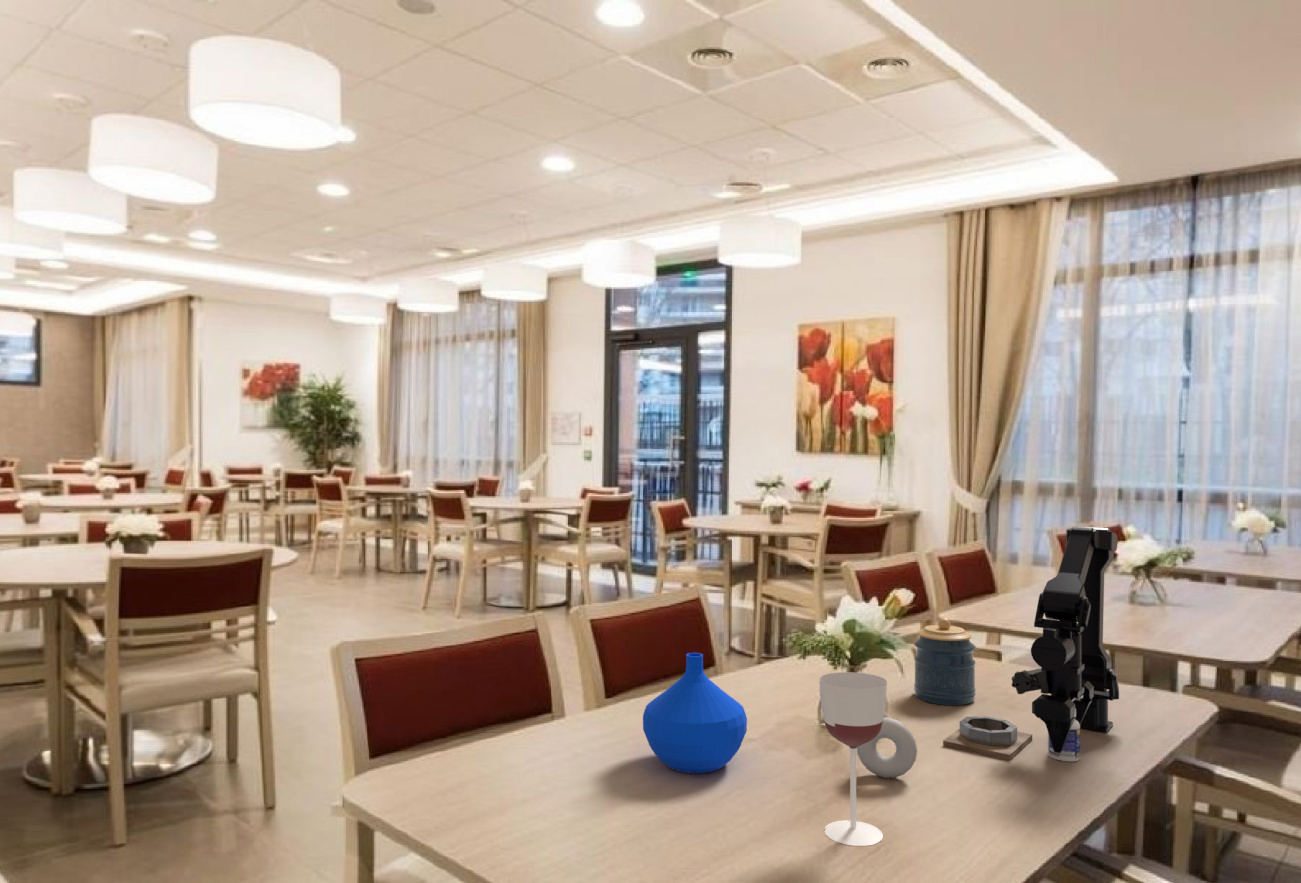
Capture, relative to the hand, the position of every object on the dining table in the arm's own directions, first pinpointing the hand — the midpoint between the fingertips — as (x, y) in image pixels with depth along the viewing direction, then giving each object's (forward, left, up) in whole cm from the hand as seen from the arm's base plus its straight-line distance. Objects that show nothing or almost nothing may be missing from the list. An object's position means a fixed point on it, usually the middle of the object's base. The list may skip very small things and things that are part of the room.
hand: (1064, 745), depth 156 cm
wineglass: (+52, -16, -2) cm, 54 cm away
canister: (-23, -30, -2) cm, 38 cm away
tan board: (+1, -13, -2) cm, 13 cm away
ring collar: (+1, -13, -2) cm, 13 cm away
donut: (+29, -21, -2) cm, 36 cm away
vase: (+44, -50, -2) cm, 67 cm away
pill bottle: (0, 0, -2) cm, 2 cm away
